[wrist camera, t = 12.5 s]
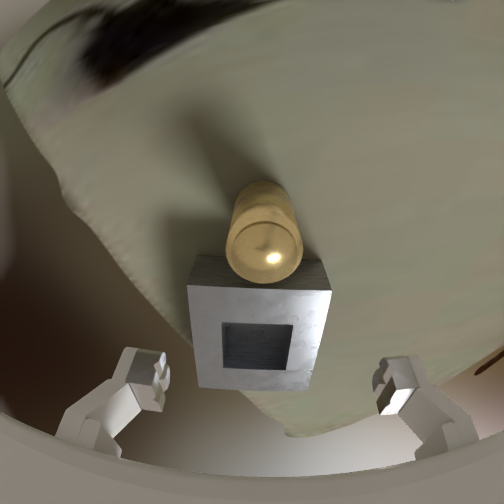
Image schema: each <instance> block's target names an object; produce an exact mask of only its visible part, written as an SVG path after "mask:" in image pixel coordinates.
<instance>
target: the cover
mask: <svg viewBox="0 0 504 504" xmlns="http://www.w3.org/2000/svg"><path fill="white" fill-rule="evenodd" d="M302 255H303V243H302V239H301V235H300V232H299V228H298V225H297V221H296V218H295V214H294V211H293V207H292V204H291V200H290V198H289V196H288V194H287V192H286V191H285V190H284V189H283V188H282V187H281V186H279V185H277V184H276V183H273V182H269V181H257V182H253V183H251V184H249V185H247V186H246V187H244V188H243V189H242V190H241V191H240V193H239V194H238V196H237V198H236V201H235V206H234V210H233V215H232V219H231V224H230V229H229V233H228V238H227V243H226V256H227V260H228V262H229V264H230V266H231V267H232V269H233V270H234V271H235V272H236V273H237V274H238V275H239V276H241V277H242V278H244V279H246V280H248V281H251V282H255V283H262V284H267V283H273V282H277V281H280V280H282V279H284V278H286V277H288V276H289V275H290V274H291V273H293V272H294V271H295V269H296V268H297V267H298V265H299V263H300V261H301V259H302Z"/></svg>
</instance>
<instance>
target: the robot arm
mask: <svg viewBox="0 0 504 504" xmlns="http://www.w3.org/2000/svg"><path fill="white" fill-rule="evenodd" d="M165 362H166V355H165V353H163V352H157V351H150V350H144V349H138V348H131V347H126V348H125V349H124V351H123V353H122V355H121V358H120V360H119V363H118V365H117V367H116V370H115V372H114V375H113V377H112V380H111V379H108V380H106V381H105V382H104V383H102V384H101V385H99V386H98V387H97V388H95V389H94V390H93V391H91V392H90V393H89V394H87V395H86V396H84V397H83V398H82V399H80V400H79V401H78V402H76V403H75V404H73V405H72V406H71V407H69V408H68V409H66V411H65V413H64V416H63V418H62V421H61V423H60V425H59V428H58V430H57V433H56V435H55V437H54V436H51V435H49V434H47V433H44V432H42V431H39V430H37V429H35V428H32V427H30V426H28V425H26V424H23V423H21V422H19V421H17V420H15V419H13V418H11V417H9V416H7V415H5V414H3V413H1V412H0V504H504V430H503V431H501V432H499V433H497V434H494V435H492V436H490V437H487V438H484V439H482V440H479V437H478V435H477V432H476V429H475V427H474V424H473V421H472V418H471V416H470V415H469V414H468V413H467V412H465V411H464V410H463V409H462V408H460V407H459V406H458V405H457V404H456V403H454V402H453V401H452V400H451V399H450V398H448V397H447V396H446V395H445V394H443V393H442V392H441V391H440V390H439V389H437V388H436V387H435V386H431V385H430V382H429V380H428V377H427V375H426V372H425V370H424V367H423V365H422V363H421V360H420V358H419V356H418V355H409V356H396V357H384V358H382V359H381V361H380V363H379V365H380V368H379V369H377V370H376V371H375V373H374V375H373V380H372V387H373V391H374V393H375V394H376V395H377V396H378V399H377V401H376V403H377V407H378V411H379V415H388V414H397V413H398V415H399V416H400V417H401V418H402V419H403V421H404V422H405V423H406V424H407V425H408V426H409V427H410V429H411V430H412V431H413V432H414V433H415V434H416V435H417V436H418V438H419V439H420V440H421V441H422V442H423V444H422V445H421V446H420V447H419V448H418V449H417V450H416V451H415V458H416V460H415V461H410V462H406V463H402V464H397V465H392V466H387V467H382V468H376V469H370V470H364V471H357V472H349V473H341V474H331V475H319V476H302V477H245V476H228V475H215V474H206V473H197V472H190V471H182V470H176V469H170V468H164V467H158V466H154V465H149V464H144V463H139V462H135V461H131V460H126V459H123V458H120V455H121V451H122V450H121V448H120V447H119V445H118V444H117V443H116V442H115V441H114V439H113V438H114V437H115V436H116V435H117V434H118V433H119V432H120V431H121V430H122V428H124V427H125V426H126V425H127V424H128V423H129V422H130V421H131V420H132V419H133V418H134V417H135V416H136V415H137V414H138V413H139V412H140V411H141V409H145V410H152V411H158V412H162V409H163V406H164V402H165V395H164V391H165V390H166V389H168V386H169V380H170V370H169V366H168V365H167V364H166V363H165Z"/></svg>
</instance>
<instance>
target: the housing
mask: <svg viewBox="0 0 504 504" xmlns="http://www.w3.org/2000/svg"><path fill="white" fill-rule="evenodd" d="M187 293H188V303H189V312H190V321H191V330H192V338H193V346H194V354H195V362H196V369H197V376H198V383H199V387H205V388H217V389H232V390H252V391H307V388H308V384H309V381H310V377H311V374H312V370H313V367H314V363H315V359H316V355H317V352H318V348H319V344H320V340H321V336H322V332H323V328H324V324H325V319H326V315H327V311H328V307H329V302H330V298H331V293H332V289H331V286H330V283H329V280H328V277H327V274H326V272H325V269H324V266H323V263H322V261H313V260H301V261H300V263H299V265H298V267H297V268H296V269H295V271H294V272H293V273H291V274H290V275H289V276H288V277H286V278H284V279H282V280H280V281H277V282H273V283H267V284H262V283H255V282H251V281H248V280H246V279H244V278H242V277H241V276H239V275H238V274H237V273H236V272H235V271H234V270H233V269H232V267H231V266H230V264H229V262H228V260H227V257H218V256H197V257H196V260H195V263H194V266H193V269H192V271H191V274H190V277H189V280H188V283H187Z"/></svg>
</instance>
